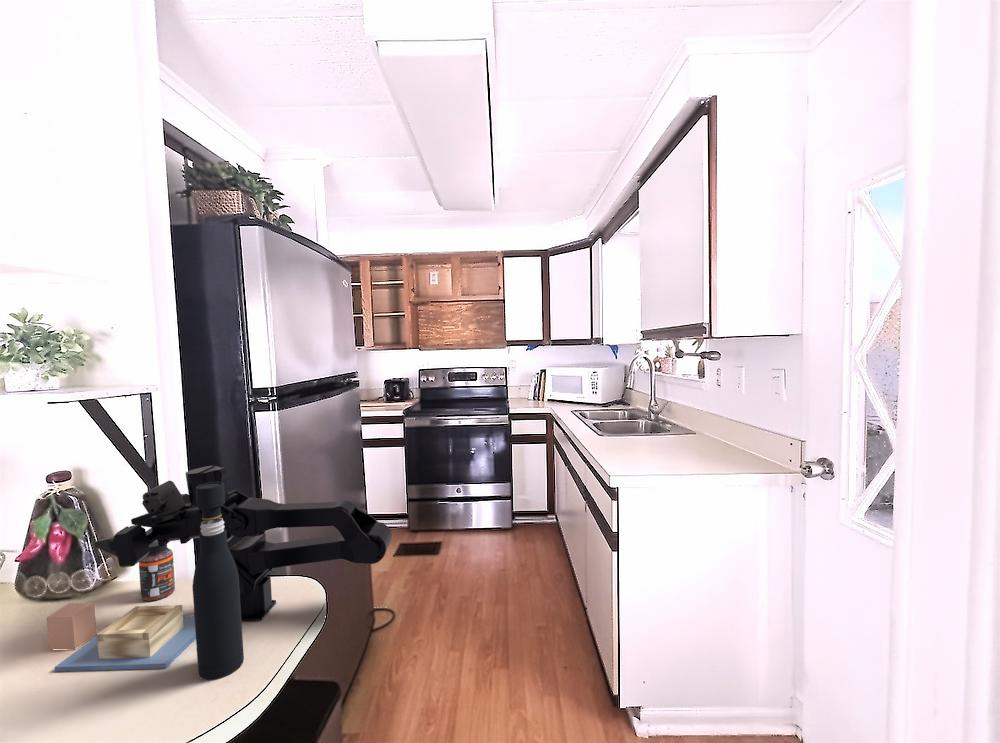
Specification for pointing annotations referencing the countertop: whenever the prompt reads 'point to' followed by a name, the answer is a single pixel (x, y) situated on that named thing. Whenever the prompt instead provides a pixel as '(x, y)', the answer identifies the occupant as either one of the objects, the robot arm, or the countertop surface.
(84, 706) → the countertop surface
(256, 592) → the robot arm
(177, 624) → the open wooden box
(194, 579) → the black insulated water bottle
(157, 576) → the supplement bottle
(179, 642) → the mat
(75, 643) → the terracotta block
